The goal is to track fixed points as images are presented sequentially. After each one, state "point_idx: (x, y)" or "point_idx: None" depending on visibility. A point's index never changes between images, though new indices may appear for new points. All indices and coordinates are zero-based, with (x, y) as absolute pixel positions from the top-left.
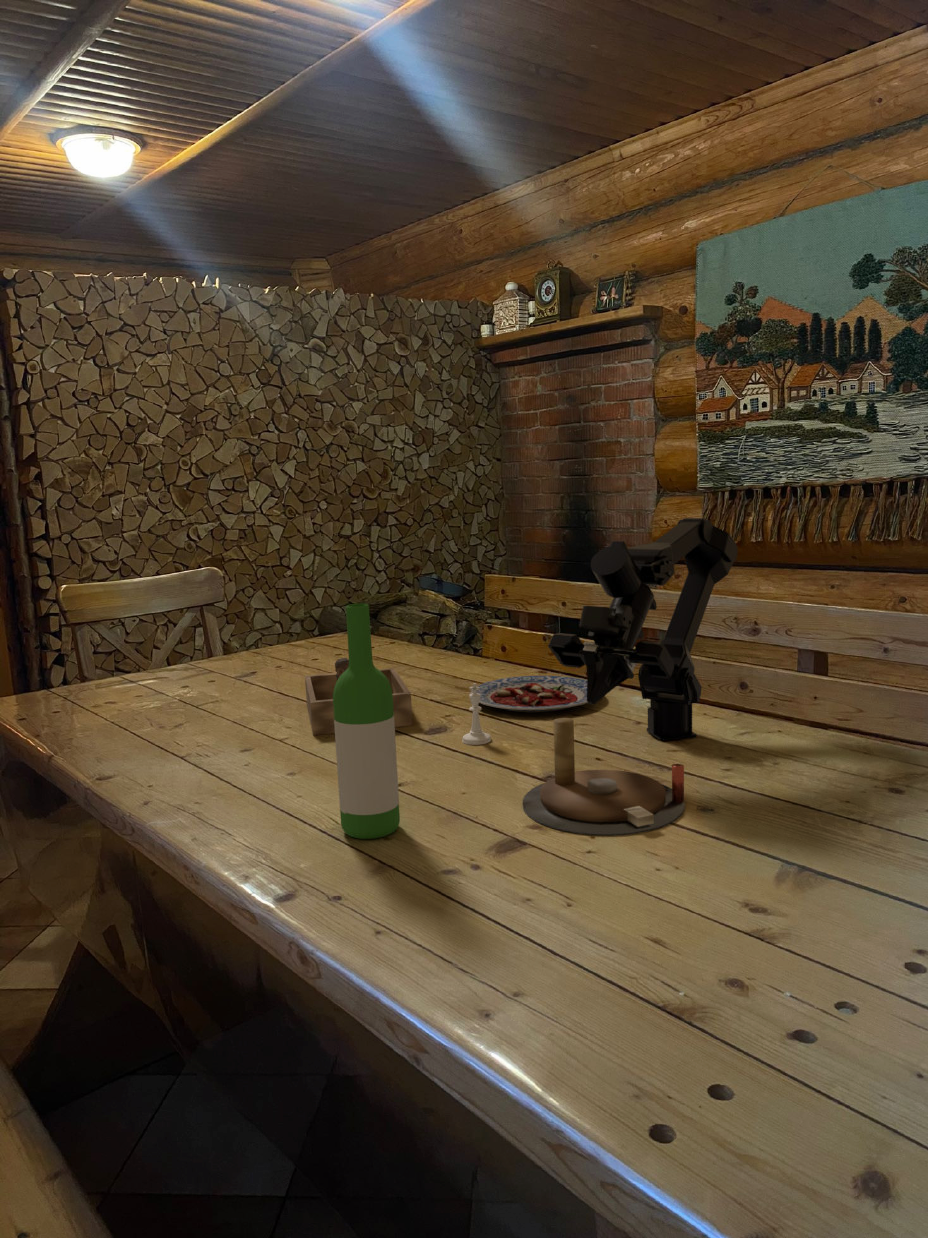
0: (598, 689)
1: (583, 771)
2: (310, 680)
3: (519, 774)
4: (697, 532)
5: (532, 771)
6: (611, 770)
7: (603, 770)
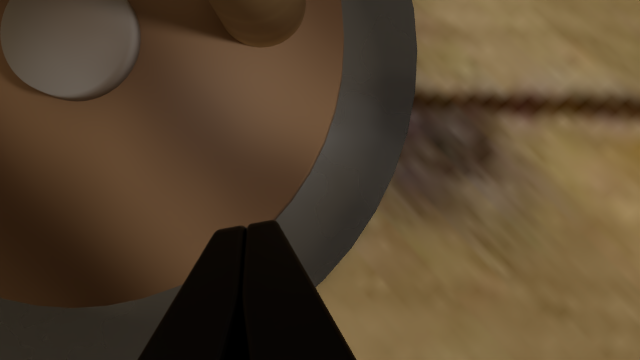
0: (149, 343)
1: (295, 166)
2: None
3: (600, 86)
4: None
5: (587, 153)
6: None
7: None
